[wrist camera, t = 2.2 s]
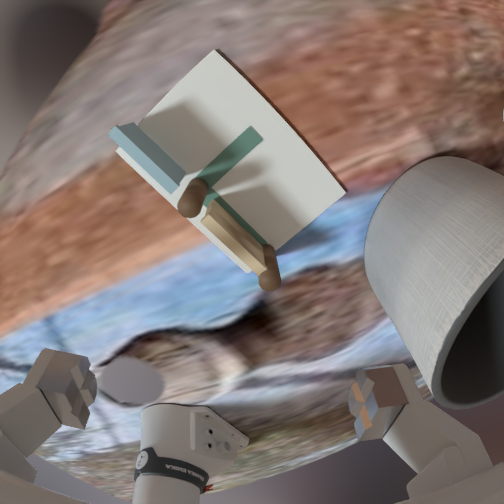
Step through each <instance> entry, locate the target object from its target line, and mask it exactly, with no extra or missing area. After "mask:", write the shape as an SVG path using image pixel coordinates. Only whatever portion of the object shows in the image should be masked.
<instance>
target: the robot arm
mask: <svg viewBox="0 0 504 504" xmlns="http://www.w3.org/2000/svg"><path fill="white" fill-rule="evenodd" d="M90 365H91V364H90V362H89V360H88V357H85V356H81V355H76V354H71V353H66V352H62V351H56V350H52V349H47V348H45V349H44V350H42V351H41V353H40V354H39V356H38V358H37V359H36V361H35V363H34V365H33V366H32V368H31V370H30V372H29V373H28V375H27V377H26V379H25V381H24V382H23V384H21V383H19V384H17V385H15V386H14V387H12V388H11V389H9V390H7V391H6V392H4V393H3V394H1V395H0V504H93V503H89V502H85V501H82V500H79V499H75V498H72V497H69V496H66V495H63V494H60V493H57V492H54V491H52V490H49V489H46V488H43V487H41V486H38V485H36V484H34V480H35V477H36V474H37V470H36V467H35V466H34V465H33V464H32V463H31V462H30V461H29V460H28V459H27V457H28V456H29V455H30V454H32V453H33V452H34V451H35V450H36V449H37V448H38V447H39V446H40V445H41V444H42V443H44V442H45V441H46V440H47V439H48V438H49V437H50V436H51V435H52V434H53V433H55V432H56V431H57V430H58V429H59V428H60V427H61V426H62V425H66V426H71V427H75V428H80V429H84V430H85V427H86V424H87V421H88V418H89V415H90V411H89V409H88V406H90V405H91V404H92V403H94V401H95V398H96V395H97V381H96V378H95V375H94V374H93V373H92V372H91V371H90V370H89V367H90ZM355 377H356V380H357V381H356V382H355V383H354V384H352V385H351V387H350V390H349V394H348V405H349V410H350V413H351V414H352V415H353V416H355V417H356V420H355V423H354V427H355V431H356V434H357V438H358V441H364V440H371V439H378V438H383V440H384V441H385V442H386V443H387V444H388V445H389V446H390V447H391V448H392V449H393V450H394V451H395V452H396V453H397V454H398V455H399V456H400V457H401V458H402V459H403V460H404V461H405V462H406V463H407V464H408V465H409V466H410V467H411V468H412V469H413V470H414V471H415V472H416V473H418V475H417V476H416V477H415V478H414V479H412V480H411V481H410V482H409V483H408V485H407V491H408V494H409V498H410V499H409V500H406V501H402V502H399V503H395V504H504V461H503V462H501V463H499V464H497V465H496V466H492V463H491V461H490V459H489V457H488V454H487V452H486V450H485V448H484V446H483V444H482V442H481V440H480V438H479V436H478V435H477V434H475V433H474V432H472V431H471V430H469V429H468V428H467V427H465V426H464V425H462V424H461V423H459V422H458V421H457V420H455V419H454V418H452V417H451V416H449V415H448V414H446V413H445V412H444V411H442V410H441V409H439V408H438V407H436V406H435V405H434V404H432V403H431V402H429V401H424V400H423V398H422V396H421V394H420V392H419V389H418V387H417V385H416V383H415V381H414V379H413V377H412V375H411V373H410V371H409V369H408V367H407V366H406V365H405V364H404V363H403V364H394V365H383V366H373V367H362V368H360V369H359V370H358V371H357V373H356V375H355ZM140 423H141V448H140V452H139V455H138V458H137V462H136V468H135V475H134V480H135V482H136V483H135V489H134V495H133V501H132V504H199V501H200V494H202V493H205V492H206V491H210V490H213V489H209V488H211V487H212V486H213V485H208V486H206V484H207V482H208V480H209V478H211V477H213V476H215V475H217V474H219V473H221V472H223V471H225V470H227V469H228V468H230V467H231V466H232V465H233V464H234V463H235V461H236V457H237V452H239V451H241V450H242V449H244V448H245V447H246V446H247V445H248V444H249V438H248V437H247V436H245V435H244V434H243V433H241V432H240V431H238V430H237V429H236V428H234V427H233V426H232V425H230V424H229V423H228V422H226V421H225V420H224V419H222V418H221V417H220V416H218V415H217V414H216V413H214V412H213V411H212V410H211V409H209V408H208V407H204V406H196V407H186V406H180V405H173V404H159V405H153V406H150V407H147V408H145V409H144V410H143V411H142V412H141V414H140ZM61 424H62V425H61Z"/></svg>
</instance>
